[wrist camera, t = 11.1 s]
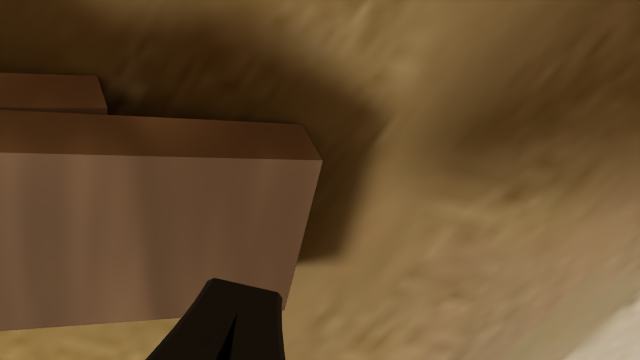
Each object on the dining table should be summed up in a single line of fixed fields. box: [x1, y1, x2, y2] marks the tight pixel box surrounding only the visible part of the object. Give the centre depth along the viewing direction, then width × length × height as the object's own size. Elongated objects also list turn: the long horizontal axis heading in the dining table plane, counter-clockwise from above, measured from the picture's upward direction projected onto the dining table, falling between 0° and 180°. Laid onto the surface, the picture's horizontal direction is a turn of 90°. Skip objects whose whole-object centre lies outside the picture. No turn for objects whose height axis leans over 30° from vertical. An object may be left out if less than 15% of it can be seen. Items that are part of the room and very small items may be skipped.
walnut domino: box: [0, 110, 323, 331], centre depth 13 cm, size 2×4×7 cm
